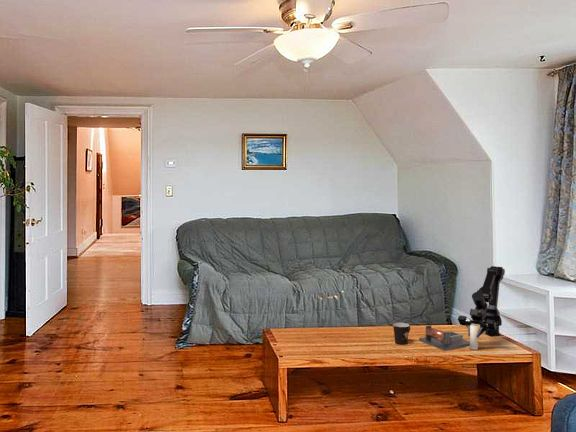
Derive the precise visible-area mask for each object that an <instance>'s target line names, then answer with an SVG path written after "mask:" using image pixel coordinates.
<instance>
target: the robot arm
mask: <svg viewBox="0 0 576 432" xmlns="http://www.w3.org/2000/svg"><path fill="white" fill-rule="evenodd" d="M505 274H506V270H505V268H503V266H494V265H493V266H492V265H491V266H490V267H487V270H486V275H485V278H484V281H483V285H482V287H480V288H478V289H477V290H476V292H475V291H474V292H473V293H472V294H471V299H472V301H473V304H474V306H475V308H470V309H469V316H470V318H468V316H466V315H458V318H457V321H458V324H459V325H460V326H465V327H466V328H467V336H468V337H470V325H478V326H479V327H478V334H477V338H478V339H479V337H480V336H481V335H482V334H485V335H487V336H489V337H500V336H501V335H502V334H501V333H500V327H501V326H503V324H502V322H503V321H502V318H501V315H500V314H501V313H500V311H499V308H498V301H499V292H500V284H501V282H502V280H503V279H504V276H505Z"/></svg>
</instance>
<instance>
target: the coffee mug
mask: <svg viewBox="0 0 576 432" xmlns="http://www.w3.org/2000/svg"><path fill="white" fill-rule="evenodd" d="M392 325H393V326H392V328H393V335H394V344H396V345H399V346H405V345H407V344H408V342H409V341H408V339H409V333H410V331H411V326H410V324H409V323H405V322H396V323H392Z"/></svg>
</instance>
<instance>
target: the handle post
mask: <svg viewBox="0 0 576 432" xmlns="http://www.w3.org/2000/svg"><path fill="white" fill-rule="evenodd" d="M478 331H479V325H478V324H471V325H470V336H469V341H470V346H469V349H470V350H473V351H474V350H478V349H479V337H478V338H477V334H478Z"/></svg>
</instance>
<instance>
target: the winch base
mask: <svg viewBox="0 0 576 432" xmlns="http://www.w3.org/2000/svg"><path fill="white" fill-rule="evenodd" d="M463 336H464V335H463V334H462V333H459V332H455V331H451V330H450V331H442V330H440V329H437V328H433V327H432V325H430V324H429V325H425V336H423V337H419V338H418V341H419V342H422V343H424V344H426V345H429V346H432V347H433V348H436V349H439V350H442V351H444V352H446V350H447V351H451V350H452V351H453V350H456V349H463V348H467V346H468V347H470V340H467V339H464V337H463Z"/></svg>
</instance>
